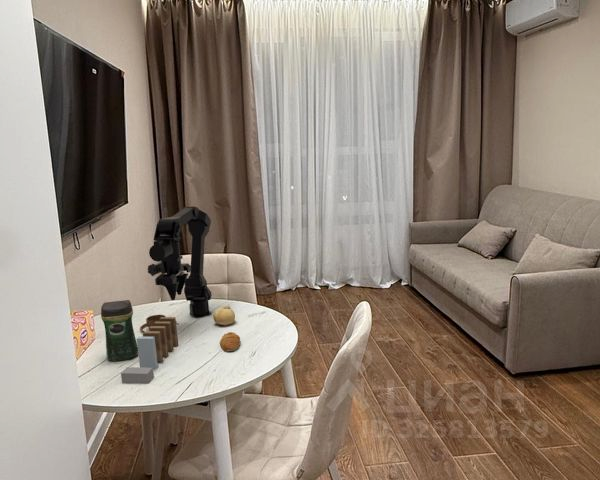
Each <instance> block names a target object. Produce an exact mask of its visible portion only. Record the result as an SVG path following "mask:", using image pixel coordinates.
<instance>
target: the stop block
mask: <svg viewBox="0 0 600 480" xmlns="http://www.w3.org/2000/svg"><path fill="white" fill-rule="evenodd" d="M120 378H121V383H122V384H149V383H150V382H151V381H152V380H153V379H154V378H155V373H154V370H153V368H149V367H140V366H137V367H135V366H130V367H129V366H127V367H125V369H124V370H123V371H121V373H120Z"/></svg>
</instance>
